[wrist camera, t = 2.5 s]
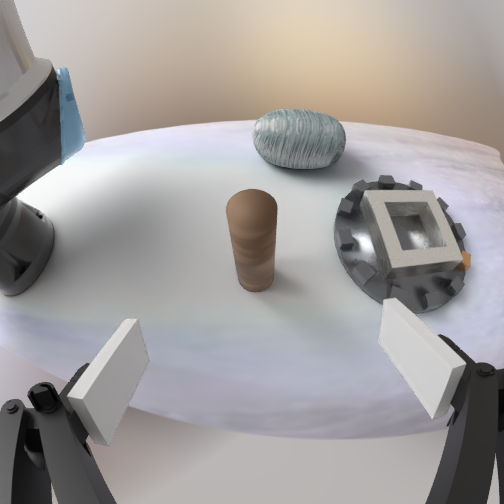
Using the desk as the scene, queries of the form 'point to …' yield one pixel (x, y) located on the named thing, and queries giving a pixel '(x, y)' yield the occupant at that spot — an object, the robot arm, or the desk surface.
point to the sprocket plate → (401, 244)
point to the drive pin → (253, 237)
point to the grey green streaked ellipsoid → (299, 138)
